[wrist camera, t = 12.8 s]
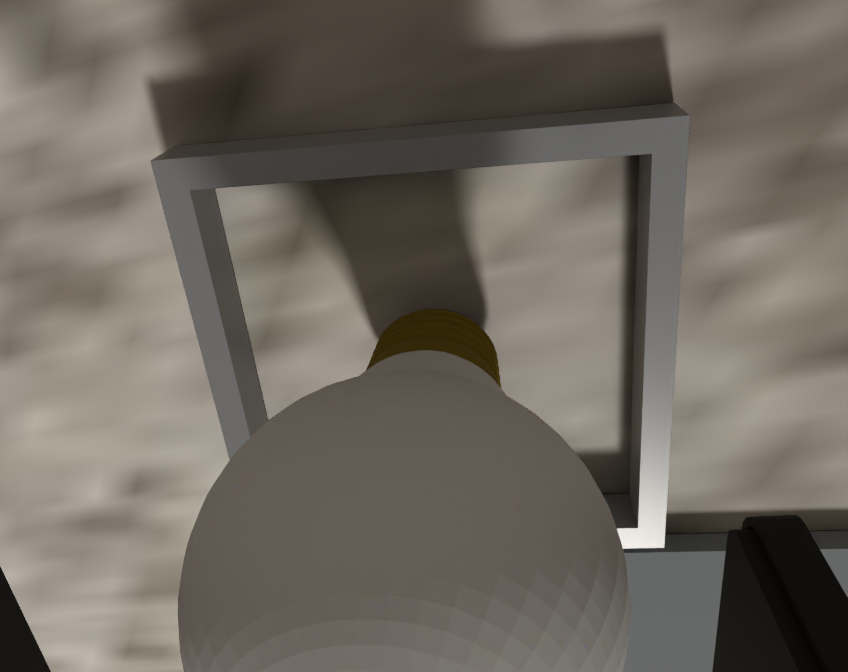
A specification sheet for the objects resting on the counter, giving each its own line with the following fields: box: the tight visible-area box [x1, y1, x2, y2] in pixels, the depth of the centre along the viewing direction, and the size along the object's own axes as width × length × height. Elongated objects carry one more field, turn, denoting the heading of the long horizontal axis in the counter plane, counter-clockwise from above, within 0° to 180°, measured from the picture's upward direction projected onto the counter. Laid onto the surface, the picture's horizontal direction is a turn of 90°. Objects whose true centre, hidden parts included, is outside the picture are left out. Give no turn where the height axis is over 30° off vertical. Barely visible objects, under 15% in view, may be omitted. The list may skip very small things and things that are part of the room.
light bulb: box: [178, 309, 631, 672], centre depth 12 cm, size 6×6×10 cm
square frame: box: [151, 103, 690, 549], centre depth 16 cm, size 10×10×1 cm
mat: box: [623, 531, 848, 672], centre depth 20 cm, size 9×9×1 cm
